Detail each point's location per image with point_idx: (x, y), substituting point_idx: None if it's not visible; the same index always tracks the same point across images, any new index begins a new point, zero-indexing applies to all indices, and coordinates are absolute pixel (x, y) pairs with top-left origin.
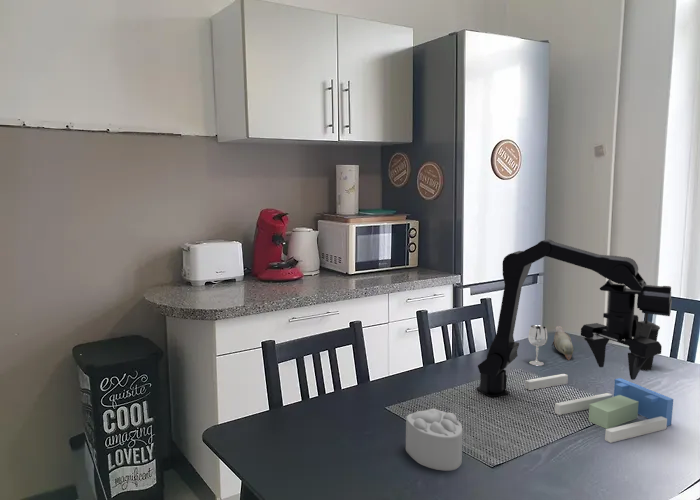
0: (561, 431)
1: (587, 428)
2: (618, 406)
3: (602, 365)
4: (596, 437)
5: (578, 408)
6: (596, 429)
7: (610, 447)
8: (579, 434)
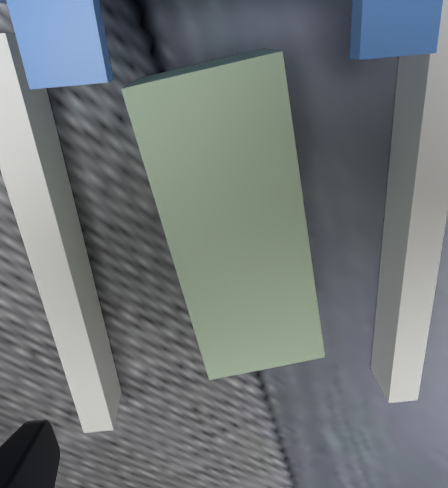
0: (251, 453)
1: None
2: (290, 257)
3: (45, 447)
4: (340, 381)
5: (95, 306)
6: None
7: None
8: (295, 416)
